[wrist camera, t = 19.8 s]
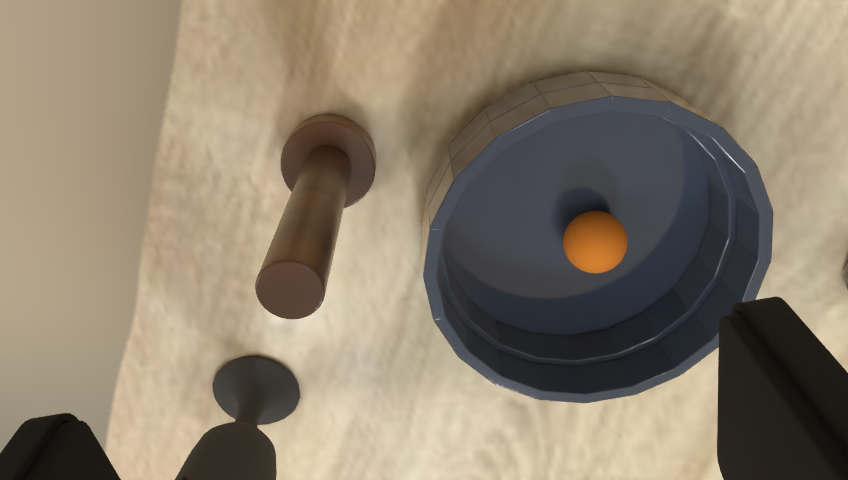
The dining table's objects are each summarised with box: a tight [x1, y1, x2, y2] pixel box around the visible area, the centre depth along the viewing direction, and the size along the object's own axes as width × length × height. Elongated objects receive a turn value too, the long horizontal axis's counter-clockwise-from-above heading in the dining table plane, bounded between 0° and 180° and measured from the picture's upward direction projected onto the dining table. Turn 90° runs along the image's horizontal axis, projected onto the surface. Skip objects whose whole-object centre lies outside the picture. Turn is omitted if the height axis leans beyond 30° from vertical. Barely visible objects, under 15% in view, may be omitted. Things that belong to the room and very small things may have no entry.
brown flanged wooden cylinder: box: [255, 115, 376, 319], centre depth 26 cm, size 4×4×12 cm
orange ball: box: [563, 211, 628, 273], centre depth 32 cm, size 3×3×3 cm
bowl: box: [422, 71, 773, 403], centre depth 31 cm, size 15×15×5 cm
